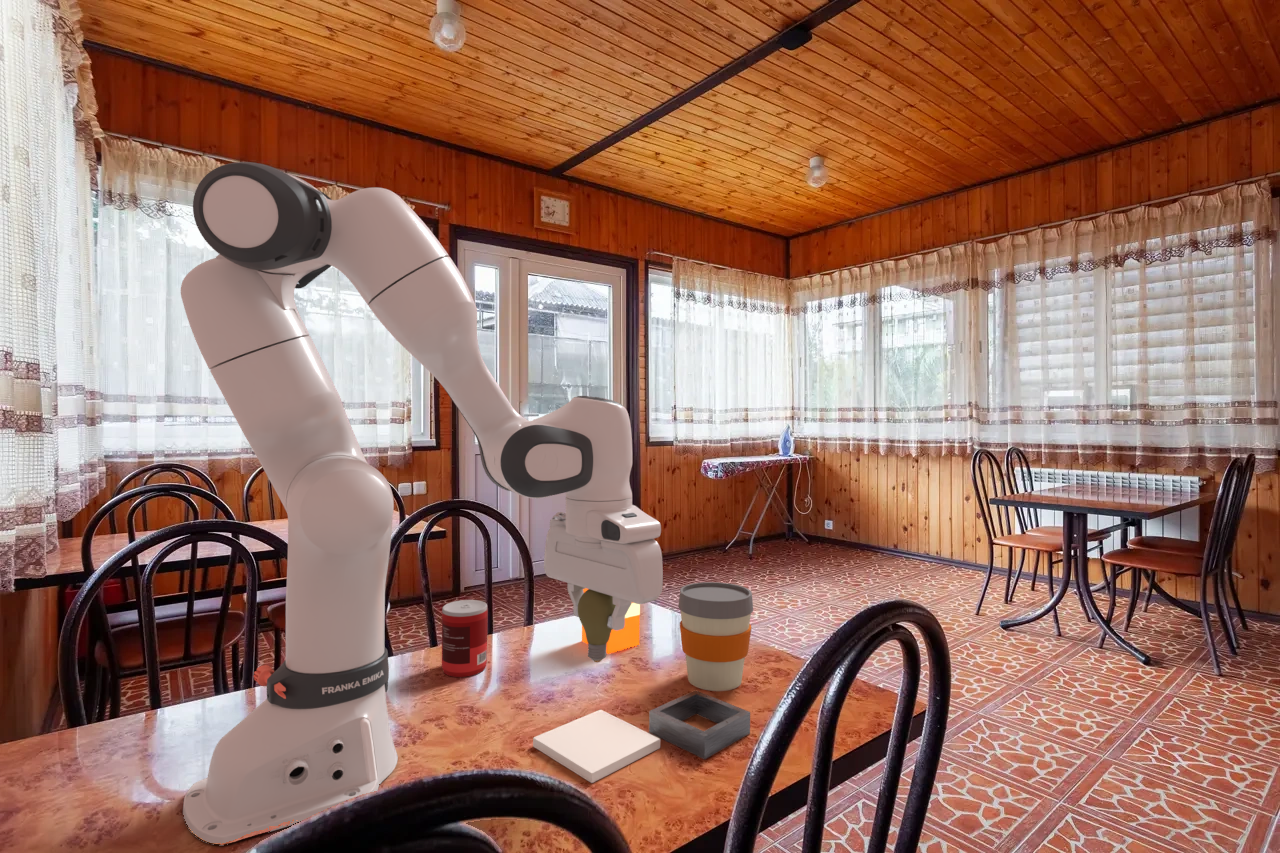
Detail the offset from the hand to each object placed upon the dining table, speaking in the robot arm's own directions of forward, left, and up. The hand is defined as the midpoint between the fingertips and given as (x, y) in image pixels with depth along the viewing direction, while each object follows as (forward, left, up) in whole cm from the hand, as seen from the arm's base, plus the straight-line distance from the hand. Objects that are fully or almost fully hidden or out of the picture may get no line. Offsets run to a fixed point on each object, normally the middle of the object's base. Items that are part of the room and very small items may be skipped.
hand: (598, 622), depth 86 cm
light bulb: (0, 0, -5) cm, 5 cm away
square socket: (+13, -7, -17) cm, 22 cm away
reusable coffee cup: (+29, +3, -17) cm, 34 cm away
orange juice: (+28, +28, -17) cm, 43 cm away
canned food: (+1, +36, -17) cm, 40 cm away
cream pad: (0, 0, -17) cm, 17 cm away
